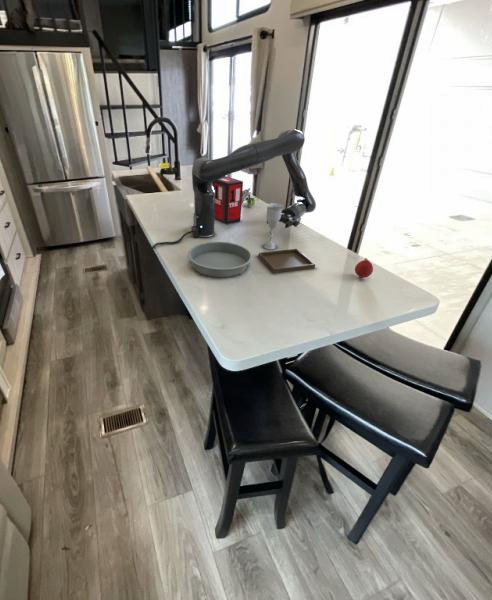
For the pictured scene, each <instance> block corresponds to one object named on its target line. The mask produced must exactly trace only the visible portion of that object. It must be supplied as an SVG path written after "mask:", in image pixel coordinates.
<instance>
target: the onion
mask: <svg viewBox="0 0 492 600" xmlns="http://www.w3.org/2000/svg"><path fill="white" fill-rule="evenodd" d="M354 271H355V275H357V277H358V278H359V279H361V280H362V279H366V278H368V277H370V276H371V275H372V274H373V272H374V266H373V264H372V263H371V261H370V260H369V258H367V257H365V258H364V259H363V260H360V261H359V262H357V264H356V265H355V267H354Z"/></svg>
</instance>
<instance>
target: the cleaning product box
mask: <svg viewBox="0 0 492 600" xmlns="http://www.w3.org/2000/svg"><path fill="white" fill-rule="evenodd" d="M212 185H213V189H214V191H215V220H217V221H219V222H221V223H223V224H226V225H229V224H235V223H239V222H241V217H242V205H243V203H242V191H244V189H243V187H244V181H243V180H239V179H236V178H233V177H230V176H228V175H226V176H224V177H222V178H220V179H218V180H216V181H214V182H212Z"/></svg>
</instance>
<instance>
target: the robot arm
mask: <svg viewBox="0 0 492 600" xmlns="http://www.w3.org/2000/svg"><path fill="white" fill-rule="evenodd" d="M305 139H306V138H305V135H304V134H303V132H302V131H301V130H298V129H286V130H283V131H281V132H280V133H279V135H277V137H276V138H272V139H266V140H257V141H253V142H251V143H247V144H244V145H241V146H240V147H238V148H236V149H235V150H233V151H232V152H230V153H229V154H228V155H226V156H222V157H219V158H215V159H210V158H207V157H199V158H197V159H196V160H194V162H193V164H192V168H191V181H192V184H191V185H192V191H193V197H194V198H193V199H194V200H193V201H194V212H193V213H192V214H193V217H192V218H193V225H191V226H190V230H189V231H187V232H185V233H184V234H182V236H181V237H180V238H178V239H177V240H175V241H161V242H156V243H155V244H153V246H152V247H151V250H154V249H155V248H156V247H157V246H159V245H175V244H178V243H180V242H181V241H182V240H183V239H184V238H185V237H186V236H187V235H190V234H191V233H192V235H193V237H195V238H203V239H205V238H213V237H214V236H215V220H216V219H215V191H214V189H213V185H212V182H214V181H216V180H218V179H220V178H222V177H224V176H229V175H230V174H234V173H238V172H240V171H243V170H246V169H250V168H253V167H256V166H258V165H261V164H263V163H266V162H268V161H270V160H273V159H275V158H277V157H281V158H282V160H283V162H284V165H285V167H286V171H287V173H288V175H289V178H290V183H291V188H292V191H293V195H294V196H295V197H297V198H299V199H296V200H295V201H294V202H293V204H291V205H288V206H287V207H285V208H284V209H282V211H281V218H280V220H279V222H278V223H283V224H284V229H288V228H290V227H294V228H297V227H298V226H299V225H300V224H301V221H302V217H303V216H304V215H305V214H308V213H312V212H314V211H315V210H316V208H317V201H316V200H315V197H314V196H313V194H312V192H311V190H310V188H309V184H308V181H307V177H306V174H305V172H304V170H303V168H302V166H301V164H300V163H299V160H298V157H297V155H296V153H297V152H299V151H300V150H301V149H302V148H303V146H304V145H305ZM265 222H266V224H267V225H268V222H267V221H265Z"/></svg>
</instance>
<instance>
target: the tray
mask: <svg viewBox="0 0 492 600" xmlns="http://www.w3.org/2000/svg"><path fill="white" fill-rule="evenodd" d="M257 257H258V258H259V259H260V260H261V261H262V263H263V264H265V266H266V267H267V268H268V269H270V271H271V272H272V273H273V274H281V273H288V272H297V271H298V272H299V271H305V270H311V269H312V270H313V269H316V263H315V262H314V261H312V260H311V259H310V258H309V257H308V256H306V255H305V254H303V252H302V251H300V250H299V249H297V248H291V249H281V250H271V251H270V250H269V251H261V252H258V256H257Z"/></svg>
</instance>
